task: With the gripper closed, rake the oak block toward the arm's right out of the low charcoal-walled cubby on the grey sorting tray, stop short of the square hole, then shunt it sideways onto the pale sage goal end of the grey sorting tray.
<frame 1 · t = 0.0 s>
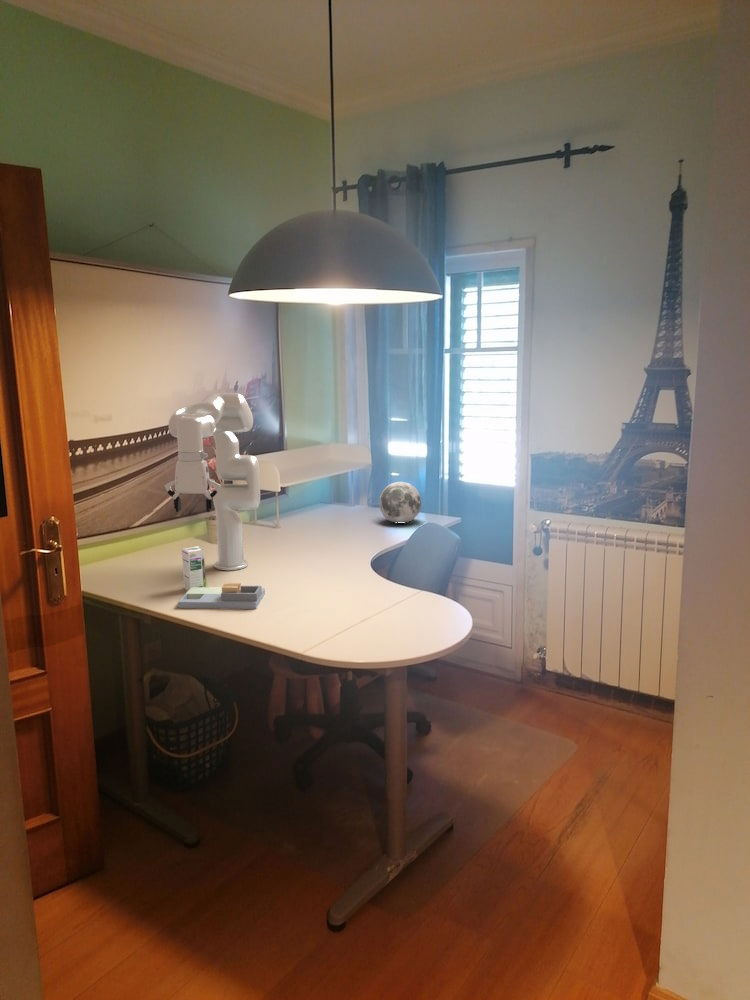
hand: (193, 511, 229), 31 cm above the table, fingers open, 9 cm apart
syrup box: (195, 589, 252), on the table
moon model: (400, 523, 350), on the table
grey sorting tray: (222, 600, 241), on the table
block: (231, 596, 238), point 2 cm above the table, touching grey sorting tray
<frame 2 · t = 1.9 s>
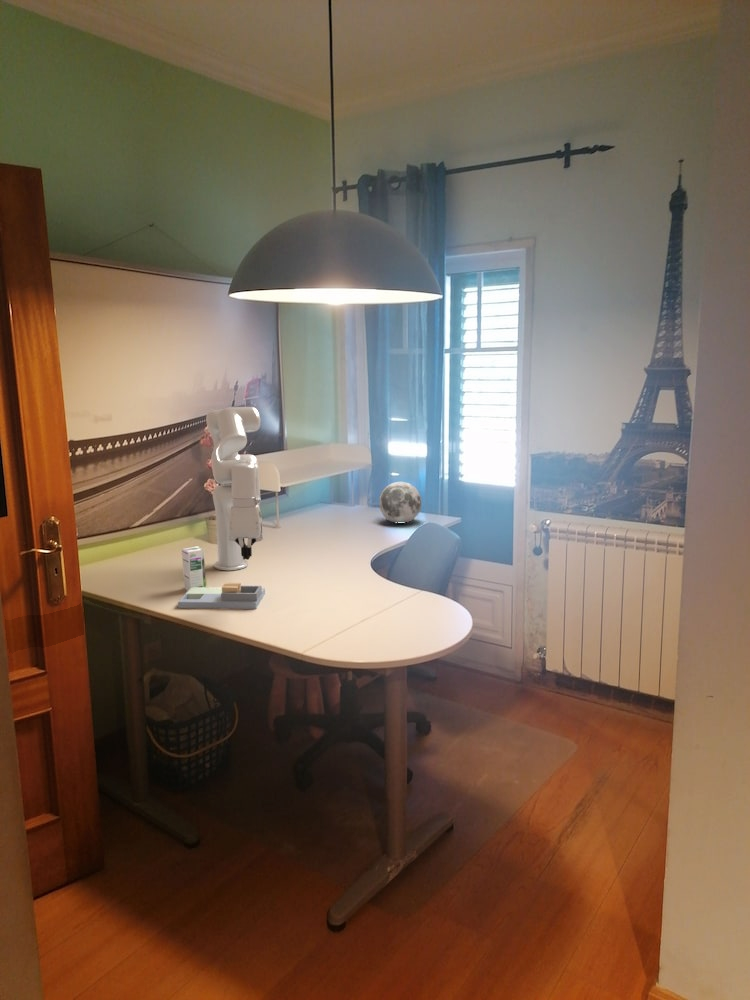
hand: (246, 558, 235), 15 cm above the table, fingers closed
nothing on the table moved.
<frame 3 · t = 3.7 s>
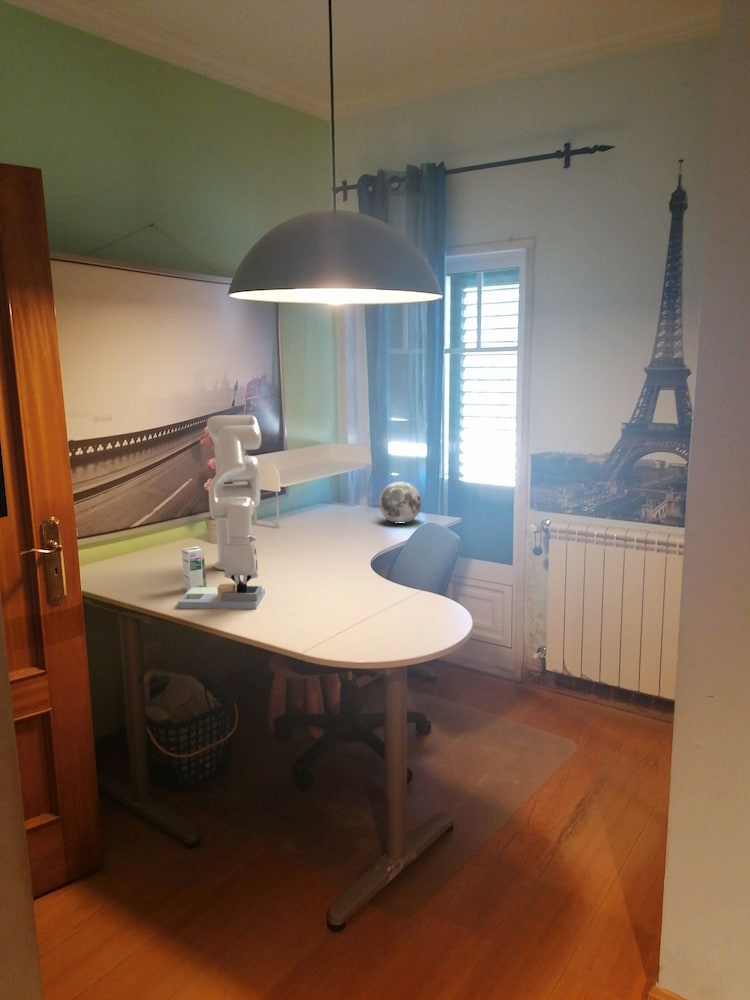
hand: (242, 594, 238), 3 cm above the table, fingers closed
block: (227, 596, 238), point 2 cm above the table, touching grey sorting tray
everything else where it was.
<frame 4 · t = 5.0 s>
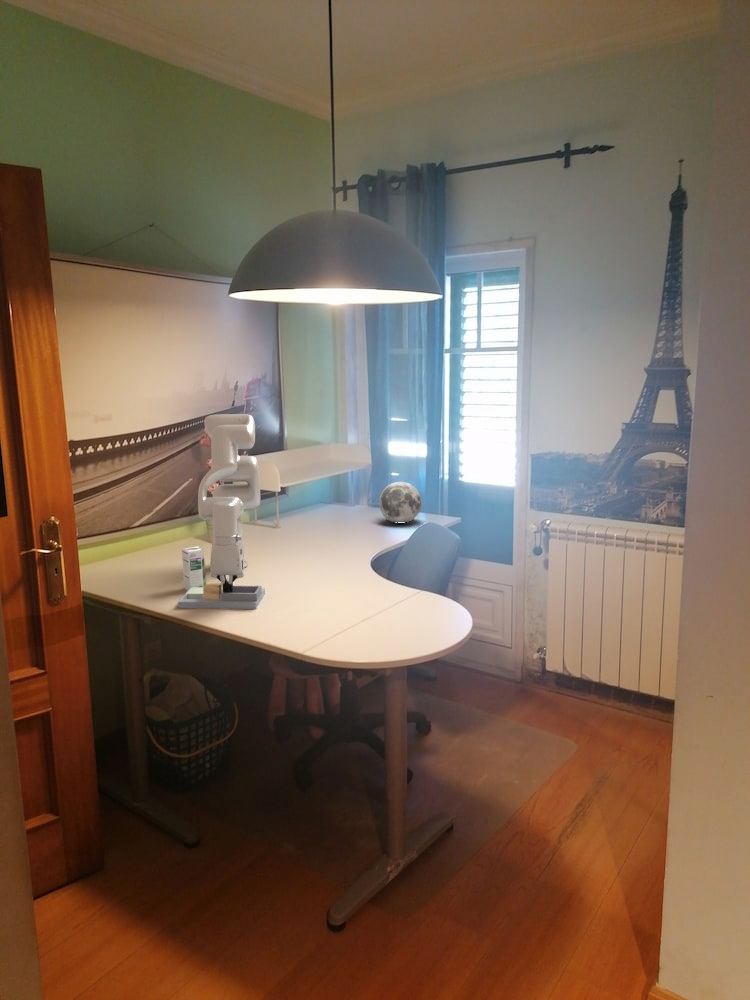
hand: (228, 594, 238), 3 cm above the table, fingers closed
block: (213, 596, 238), point 2 cm above the table, touching grey sorting tray, gripper
everything else where it was.
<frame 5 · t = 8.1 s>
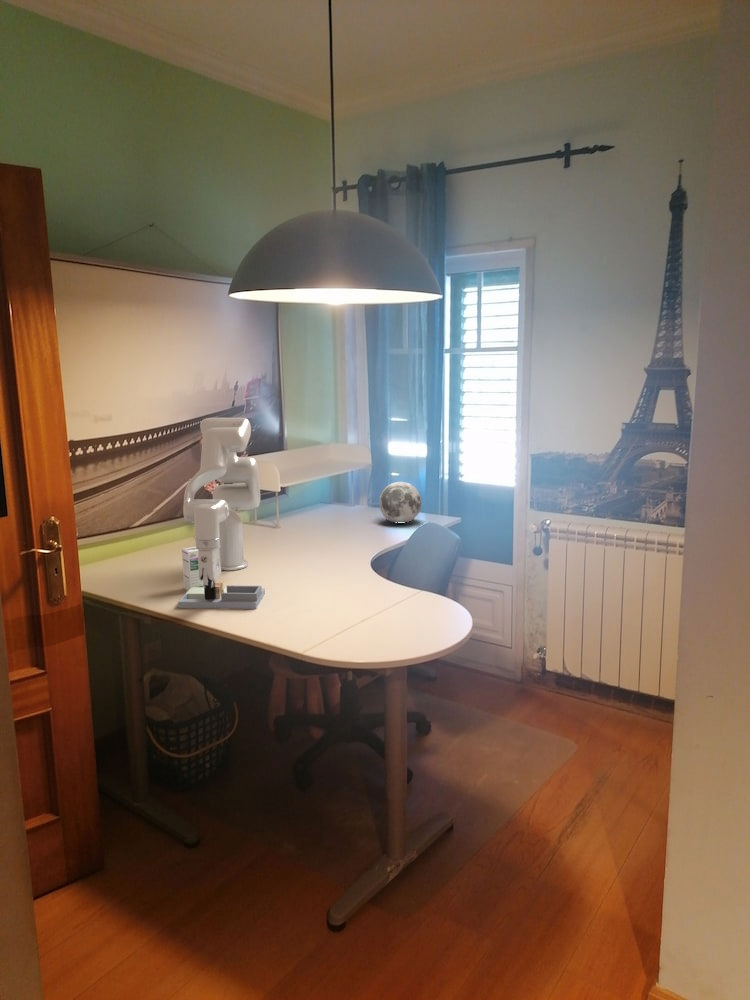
hand: (210, 598, 234), 3 cm above the table, fingers closed
block: (214, 595, 239), point 2 cm above the table, touching grey sorting tray
everything else where it was.
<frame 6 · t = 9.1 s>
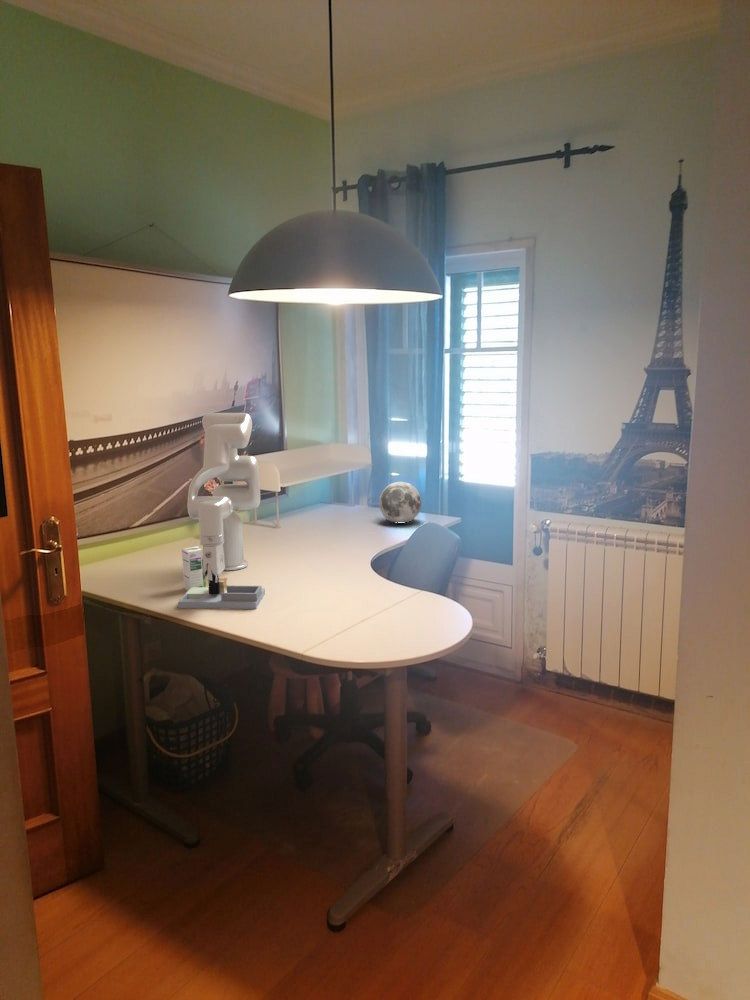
hand: (214, 593, 239), 3 cm above the table, fingers closed
block: (218, 591, 244), point 2 cm above the table, touching grey sorting tray, gripper
everything else where it was.
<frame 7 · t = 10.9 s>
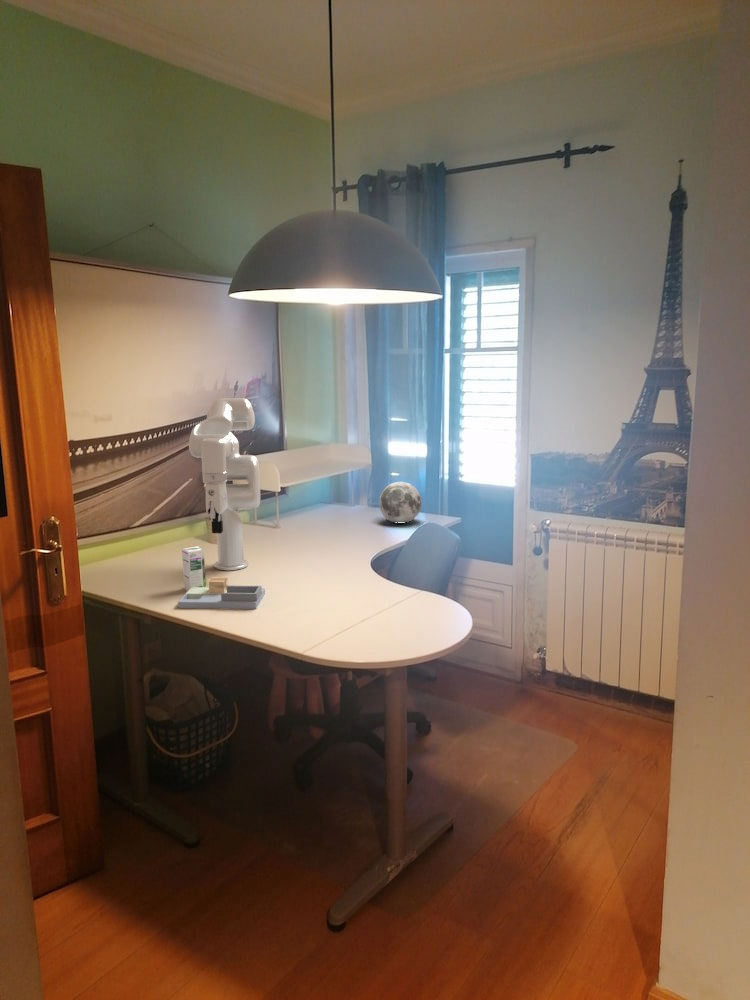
hand: (217, 532, 237), 23 cm above the table, fingers closed
block: (218, 590, 244), point 2 cm above the table, touching grey sorting tray
everything else where it was.
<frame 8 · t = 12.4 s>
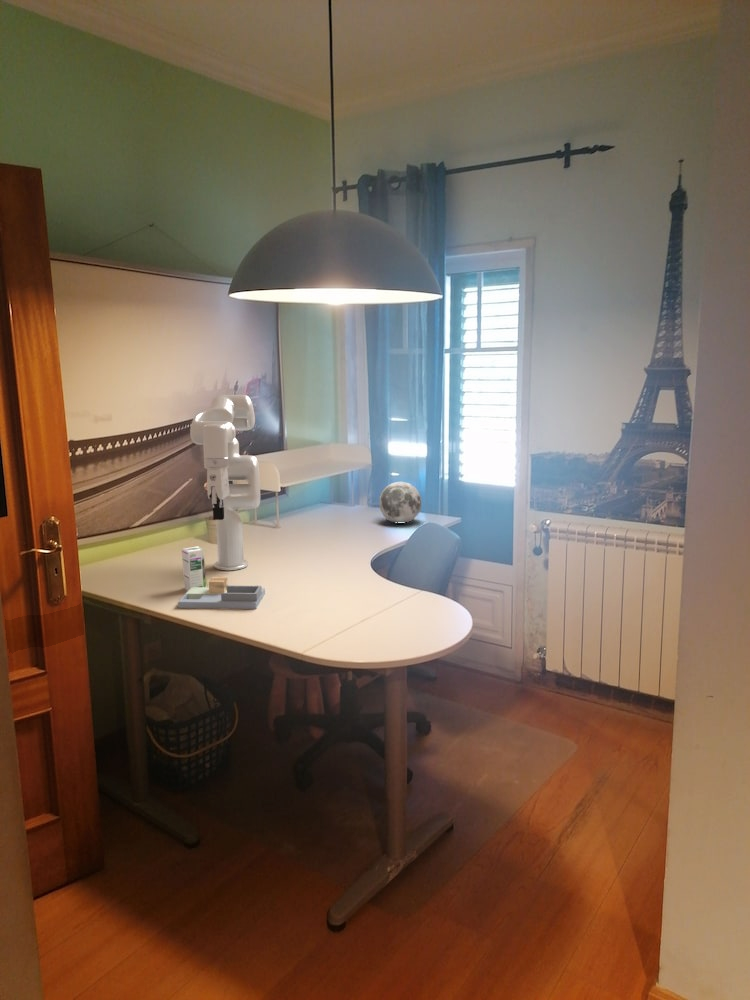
hand: (218, 519, 237), 27 cm above the table, fingers closed
nothing on the table moved.
at the end: block inside the target area (0.6 cm from its centre), point 2.0 cm above the table; block tilted 0° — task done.
